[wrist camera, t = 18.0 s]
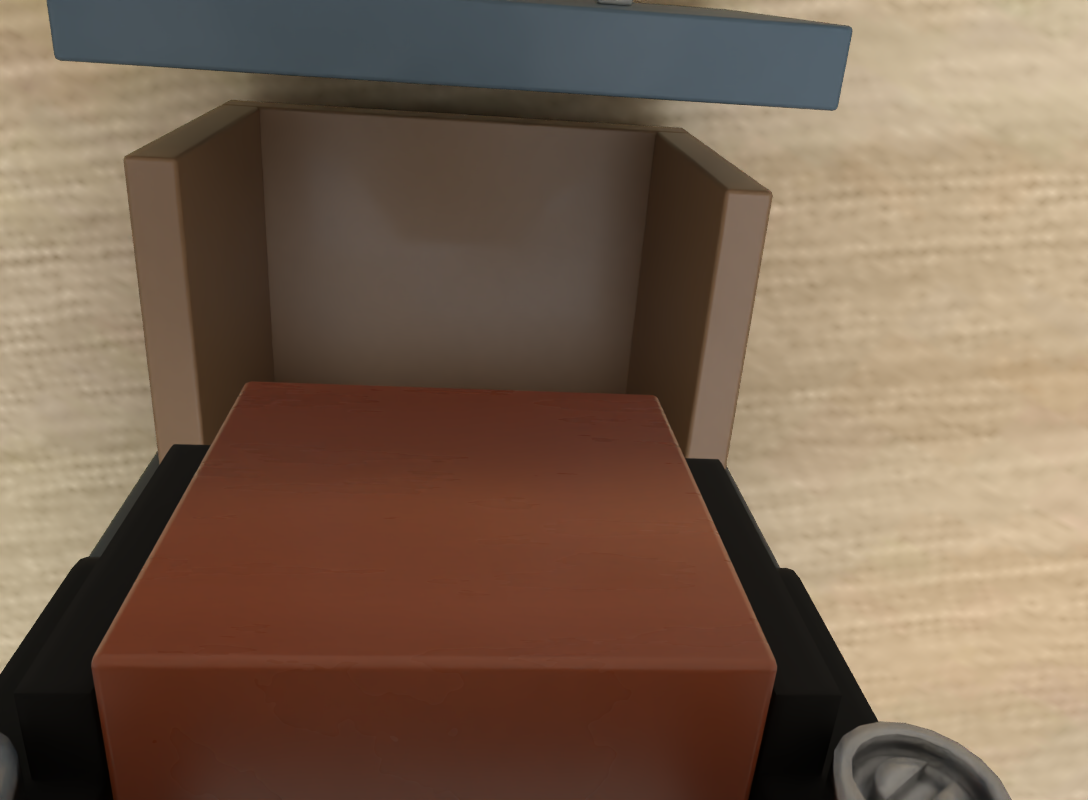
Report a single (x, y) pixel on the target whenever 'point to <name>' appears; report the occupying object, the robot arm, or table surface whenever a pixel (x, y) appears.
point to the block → (436, 609)
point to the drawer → (451, 202)
